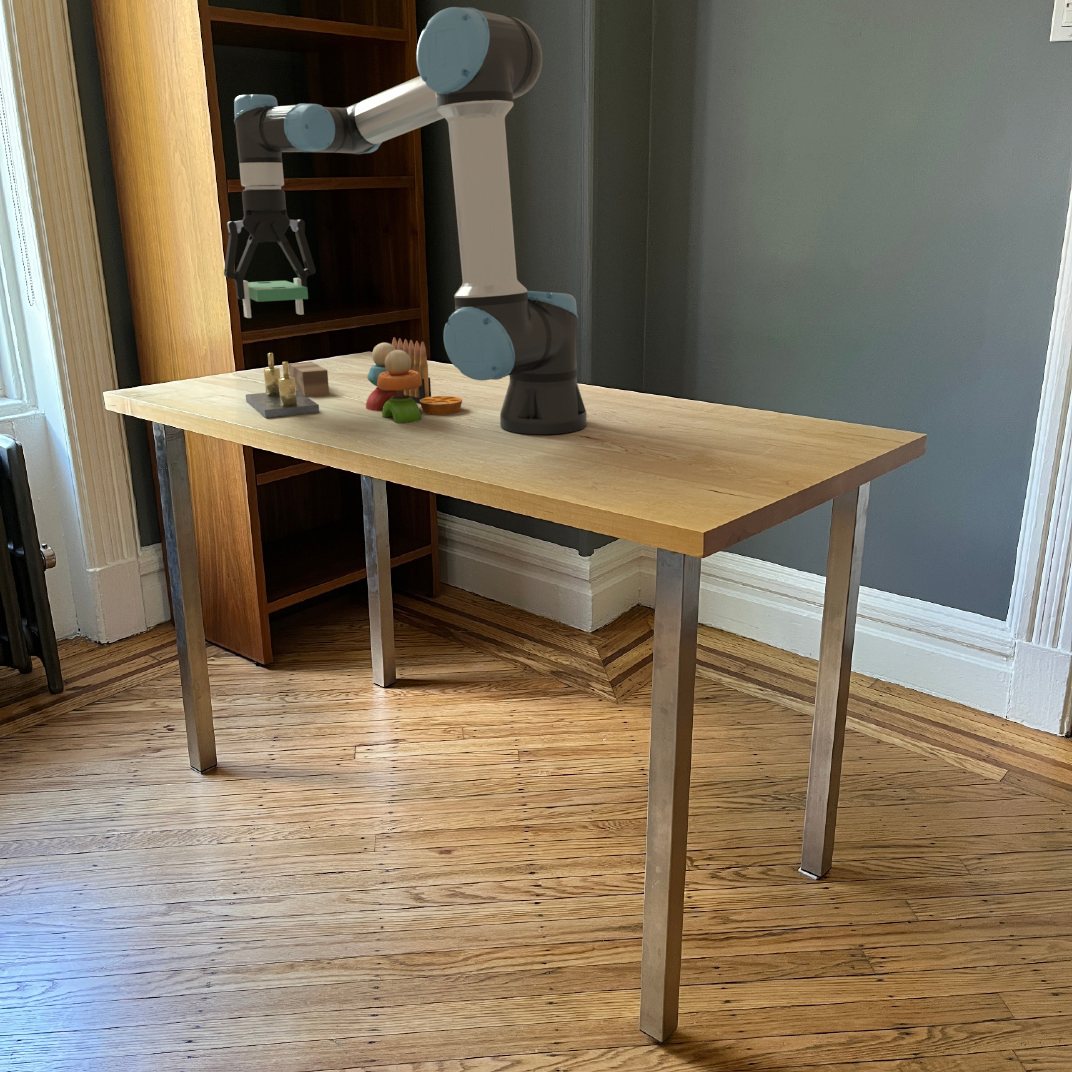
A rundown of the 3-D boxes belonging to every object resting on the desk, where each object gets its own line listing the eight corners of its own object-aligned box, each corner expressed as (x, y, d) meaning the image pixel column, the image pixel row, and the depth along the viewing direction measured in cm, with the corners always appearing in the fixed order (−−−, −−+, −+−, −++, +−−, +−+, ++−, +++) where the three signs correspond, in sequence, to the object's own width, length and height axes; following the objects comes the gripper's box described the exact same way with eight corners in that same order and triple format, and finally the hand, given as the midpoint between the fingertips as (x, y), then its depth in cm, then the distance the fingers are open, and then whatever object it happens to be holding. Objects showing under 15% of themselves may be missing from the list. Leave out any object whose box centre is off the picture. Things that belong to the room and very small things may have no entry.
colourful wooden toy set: (474, 413, 194) (472, 345, 190) (392, 425, 185) (388, 354, 181) (425, 398, 208) (422, 335, 204) (346, 409, 198) (342, 343, 194)
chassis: (319, 412, 195) (315, 361, 192) (265, 418, 191) (260, 366, 188) (296, 397, 209) (292, 349, 206) (246, 402, 205) (241, 353, 202)
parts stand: (329, 394, 212) (327, 370, 210) (304, 397, 210) (302, 372, 208) (313, 385, 222) (311, 361, 220) (290, 387, 220) (288, 363, 218)
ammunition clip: (432, 403, 202) (429, 341, 198) (424, 405, 201) (421, 342, 197) (398, 396, 209) (395, 336, 205) (390, 398, 208) (387, 337, 204)
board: (308, 298, 188) (307, 287, 188) (257, 301, 185) (256, 290, 184) (285, 291, 203) (285, 280, 202) (238, 293, 199) (237, 282, 198)
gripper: (317, 187, 195) (326, 310, 202) (197, 189, 186) (210, 317, 193) (327, 187, 189) (336, 314, 196) (204, 188, 180) (218, 321, 187)
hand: (274, 315), depth 195 cm, fingers closed on board, 9 cm apart
